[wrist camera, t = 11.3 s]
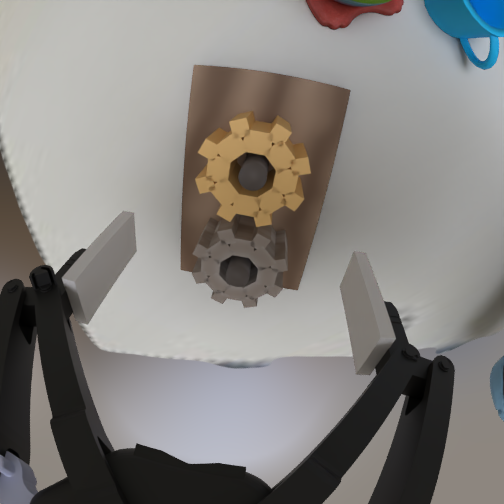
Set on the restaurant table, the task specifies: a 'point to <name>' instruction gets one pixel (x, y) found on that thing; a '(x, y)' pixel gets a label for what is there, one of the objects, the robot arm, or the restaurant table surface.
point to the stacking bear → (349, 10)
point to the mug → (470, 23)
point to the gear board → (266, 105)
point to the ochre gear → (227, 168)
